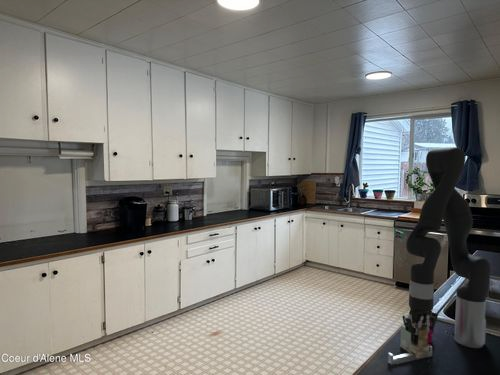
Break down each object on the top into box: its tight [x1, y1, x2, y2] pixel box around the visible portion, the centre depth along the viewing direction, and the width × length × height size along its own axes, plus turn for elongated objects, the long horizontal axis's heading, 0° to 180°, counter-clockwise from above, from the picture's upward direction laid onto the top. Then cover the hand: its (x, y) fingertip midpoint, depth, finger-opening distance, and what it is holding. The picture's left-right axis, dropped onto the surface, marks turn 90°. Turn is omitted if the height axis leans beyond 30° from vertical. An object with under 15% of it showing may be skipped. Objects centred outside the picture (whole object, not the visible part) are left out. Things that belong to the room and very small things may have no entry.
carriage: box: [408, 326, 429, 358], centre depth 118 cm, size 5×4×10 cm
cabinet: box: [399, 324, 411, 353], centre depth 124 cm, size 6×5×8 cm
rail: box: [387, 343, 433, 366], centre depth 117 cm, size 18×2×4 cm, turn 109°
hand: (419, 342), depth 118 cm, fingers closed on carriage, 3 cm apart
